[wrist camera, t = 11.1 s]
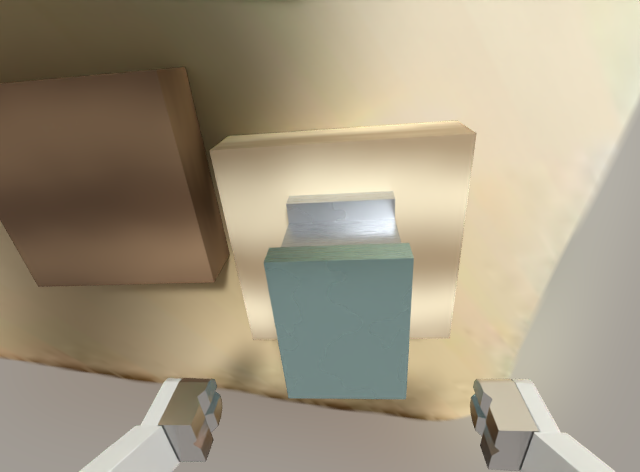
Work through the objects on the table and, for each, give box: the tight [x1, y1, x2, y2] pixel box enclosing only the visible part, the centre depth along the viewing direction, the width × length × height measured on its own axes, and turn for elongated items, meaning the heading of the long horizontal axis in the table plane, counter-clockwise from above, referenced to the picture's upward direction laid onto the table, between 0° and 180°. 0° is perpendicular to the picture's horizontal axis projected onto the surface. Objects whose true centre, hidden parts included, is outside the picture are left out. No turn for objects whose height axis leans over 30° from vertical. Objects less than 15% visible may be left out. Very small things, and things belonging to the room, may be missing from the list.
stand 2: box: [209, 121, 476, 340], centre depth 20 cm, size 12×12×3 cm
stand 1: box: [0, 67, 230, 287], centre depth 19 cm, size 11×11×3 cm
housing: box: [263, 191, 414, 399], centre depth 16 cm, size 5×7×6 cm
